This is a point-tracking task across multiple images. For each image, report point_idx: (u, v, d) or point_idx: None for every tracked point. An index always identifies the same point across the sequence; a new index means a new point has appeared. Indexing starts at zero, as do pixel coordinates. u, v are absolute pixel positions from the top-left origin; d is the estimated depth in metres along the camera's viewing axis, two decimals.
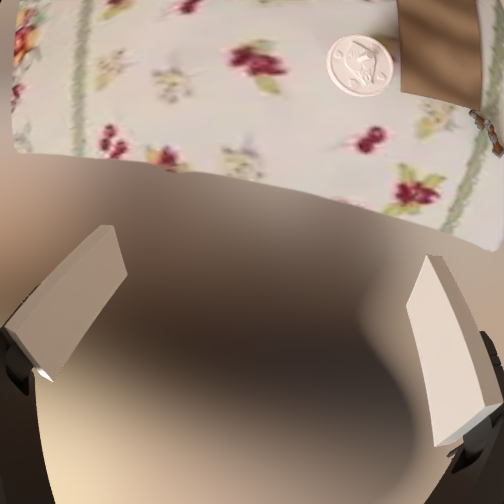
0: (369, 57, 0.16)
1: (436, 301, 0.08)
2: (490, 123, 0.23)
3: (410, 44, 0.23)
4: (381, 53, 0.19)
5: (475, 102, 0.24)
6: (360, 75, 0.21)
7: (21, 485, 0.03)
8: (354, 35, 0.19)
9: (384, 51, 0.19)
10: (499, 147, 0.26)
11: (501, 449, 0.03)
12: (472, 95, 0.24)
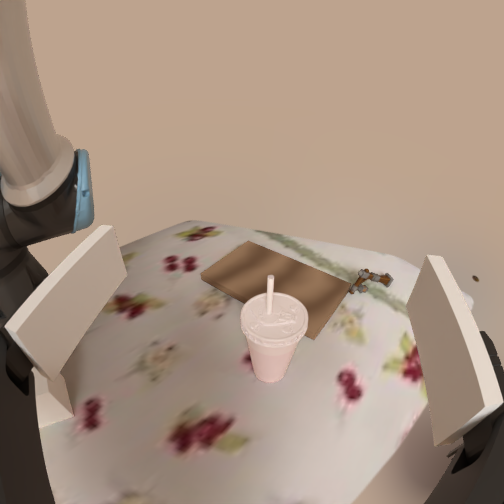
0: (272, 278, 0.24)
1: (436, 301, 0.08)
2: (362, 270, 0.40)
3: None
4: (273, 297, 0.28)
5: (342, 283, 0.42)
6: (283, 320, 0.25)
7: (21, 485, 0.03)
8: (245, 305, 0.27)
9: (272, 294, 0.28)
10: (384, 276, 0.43)
11: (501, 449, 0.03)
12: (336, 284, 0.42)
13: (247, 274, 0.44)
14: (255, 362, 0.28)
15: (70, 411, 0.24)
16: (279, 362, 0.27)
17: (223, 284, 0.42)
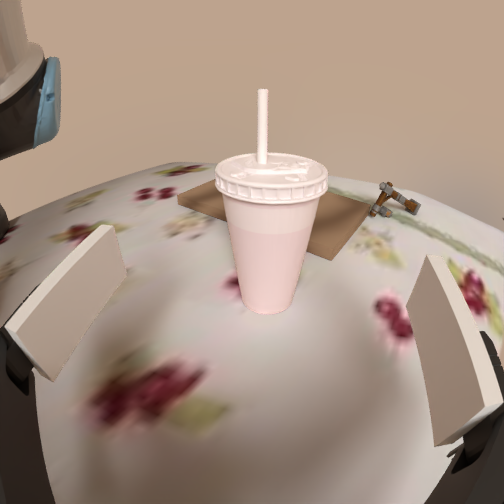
0: (265, 90, 0.13)
1: (436, 301, 0.08)
2: (384, 183, 0.30)
3: None
4: (269, 156, 0.18)
5: (360, 204, 0.32)
6: (287, 168, 0.15)
7: (21, 485, 0.03)
8: (225, 161, 0.17)
9: (268, 154, 0.18)
10: (409, 201, 0.33)
11: (501, 449, 0.03)
12: (351, 204, 0.32)
13: None
14: (242, 265, 0.17)
15: None
16: (284, 256, 0.16)
17: (204, 202, 0.32)
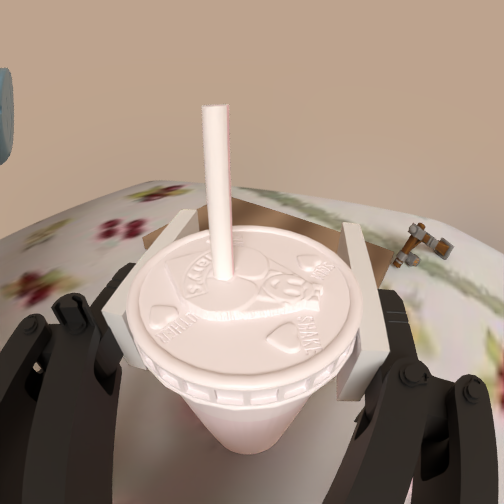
0: (220, 108, 0.05)
1: None
2: (415, 225, 0.22)
3: None
4: (245, 236, 0.10)
5: (381, 252, 0.24)
6: (275, 300, 0.07)
7: (83, 501, 0.03)
8: (158, 255, 0.09)
9: (244, 230, 0.10)
10: (441, 242, 0.24)
11: (393, 409, 0.05)
12: (370, 252, 0.24)
13: None
14: None
15: None
16: (265, 430, 0.08)
17: None
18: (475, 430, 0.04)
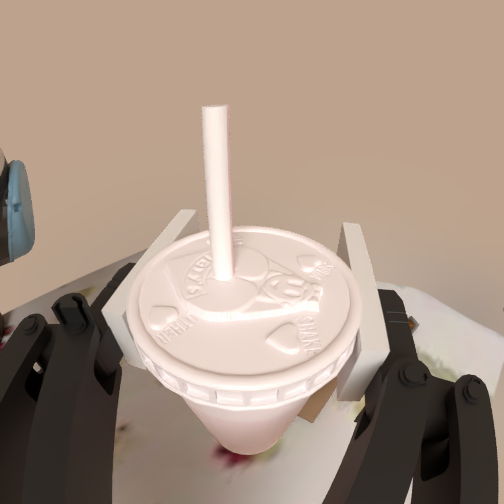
0: (220, 108, 0.05)
1: (344, 261, 0.10)
2: None
3: None
4: (245, 236, 0.10)
5: None
6: (275, 300, 0.07)
7: (83, 501, 0.03)
8: (158, 255, 0.09)
9: (244, 230, 0.10)
10: None
11: (394, 409, 0.05)
12: None
13: None
14: (201, 421, 0.09)
15: None
16: (266, 431, 0.08)
17: None
18: (475, 430, 0.04)
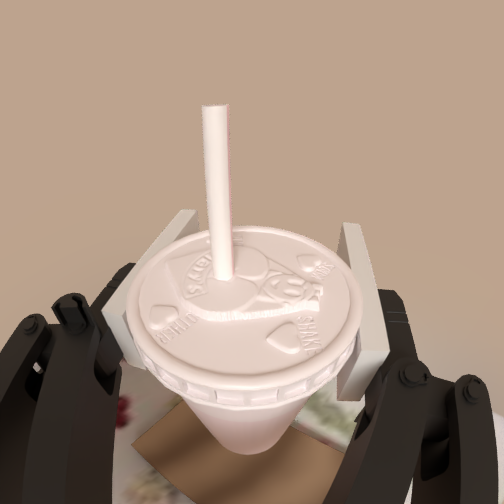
0: (220, 108, 0.05)
1: None
2: None
3: None
4: (245, 236, 0.10)
5: None
6: (275, 300, 0.07)
7: (83, 501, 0.03)
8: (158, 255, 0.09)
9: (244, 230, 0.10)
10: None
11: (394, 409, 0.05)
12: None
13: (202, 456, 0.21)
14: (201, 420, 0.09)
15: None
16: (266, 431, 0.08)
17: (163, 473, 0.19)
18: (475, 430, 0.04)
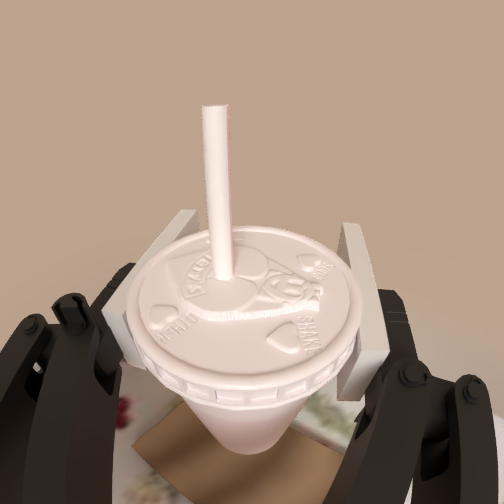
0: (220, 108, 0.05)
1: None
2: None
3: None
4: (245, 236, 0.10)
5: None
6: (275, 300, 0.07)
7: (83, 501, 0.03)
8: (158, 255, 0.09)
9: (244, 230, 0.10)
10: None
11: (394, 409, 0.05)
12: None
13: (202, 457, 0.21)
14: (201, 420, 0.09)
15: None
16: (266, 430, 0.08)
17: (164, 474, 0.19)
18: (475, 430, 0.04)
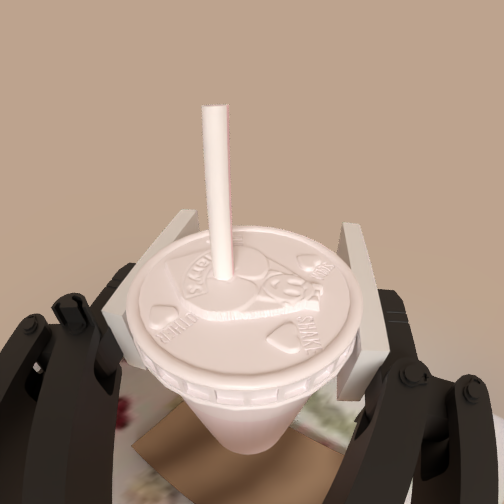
0: (220, 108, 0.05)
1: None
2: None
3: None
4: (245, 236, 0.10)
5: None
6: (275, 300, 0.07)
7: (83, 501, 0.03)
8: (158, 255, 0.09)
9: (244, 230, 0.10)
10: None
11: (394, 409, 0.05)
12: None
13: (202, 457, 0.21)
14: (201, 420, 0.09)
15: None
16: (266, 430, 0.08)
17: (164, 474, 0.19)
18: (475, 430, 0.04)
